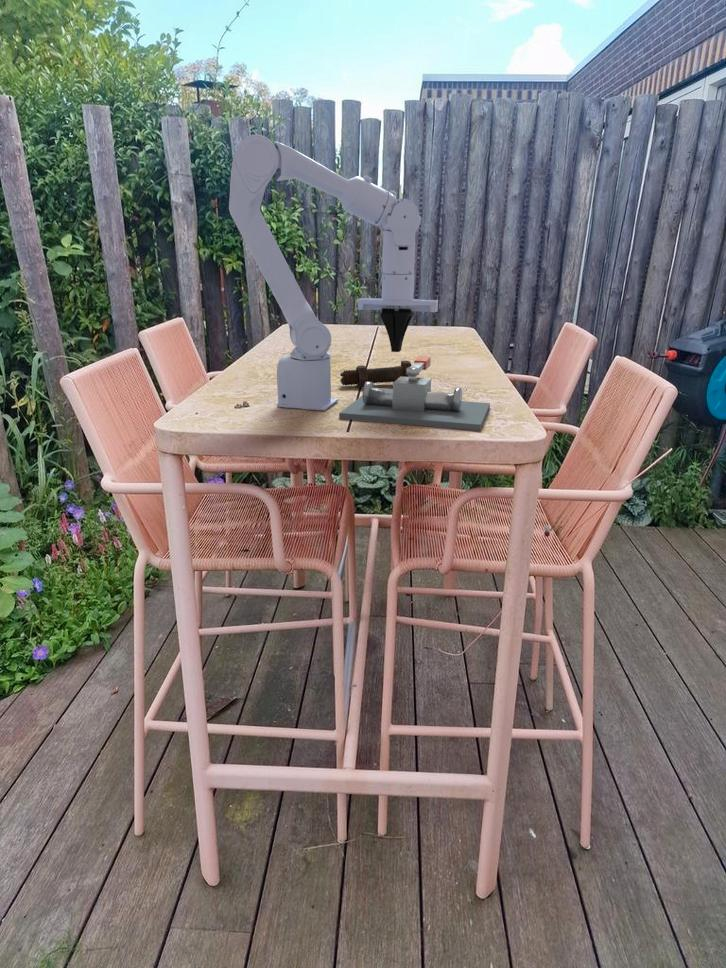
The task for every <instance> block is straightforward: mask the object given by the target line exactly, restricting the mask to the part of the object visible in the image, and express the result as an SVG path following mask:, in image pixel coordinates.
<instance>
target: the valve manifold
mask: <svg viewBox="0 0 726 968" xmlns="http://www.w3.org/2000/svg"><path fill="white" fill-rule="evenodd" d="M417 376H418V375H414V376H412V375H409V377H399V378H398V379H397V380H396V381H395V382H392V388H384V387H383V388H382V387H381V388H379V387H375V385H374V384H375V383H373V382H365V384H364V387H362V388H363V389H362V395H363V403H364V404H369V405H383V406H392V410H399V411H411V412H425V411H426V409H435V410H447V411H460V408H461V402H462V401H463V388H462V387H455V388H454V389H453V393H452V392H441V391H440V392H439V391H437V392H436V391H431V390H432V378H428V377H417Z"/></svg>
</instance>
